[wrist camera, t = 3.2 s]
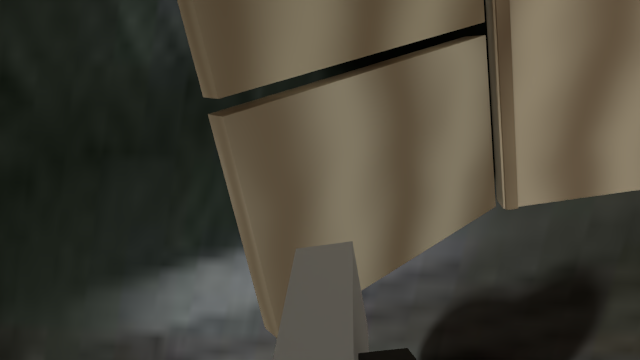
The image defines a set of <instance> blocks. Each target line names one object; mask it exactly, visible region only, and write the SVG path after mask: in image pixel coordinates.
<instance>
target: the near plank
mask: <svg viewBox="0 0 640 360" xmlns="http://www.w3.org/2000/svg"><path fill="white" fill-rule="evenodd" d="M177 1H178V5H179V8H180V12H181V16H182V20H183V23H184V27H185V31H186V35H187V38H188V42H189V46H190V50H191V53H192V57H193V61H194V64H195V68H196V72H197V76H198V79H199V83H200V87H201V91H202V94H203V97H207V98H216V99H219V98H223V97H226V96H230V95H233V94H237V93H240V92H243V91H247V90H250V89H254V88H257V87H261V86H264V85H268V84H271V83H275V82H278V81H282V80H285V79H289V78H292V77H296V76H299V75H303V74H306V73H309V72H313V71H316V70H320V69H323V68H327V67H330V66H334V65H337V64H341V63H344V62H348V61H351V60H355V59H358V58H362V57H365V56H368V55H372V54H375V53H379V52H382V51H386V50H389V49H393V48H396V47H400V46H403V45H407V44H410V43H414V42H417V41H421V40H424V39H428V38H431V37H434V36H438V35H441V34H445V33H448V32H452V31H455V30H459V29H462V28H466V27H469V26H473V25H476V24H480V23H483V22H485V16H484V0H177Z"/></svg>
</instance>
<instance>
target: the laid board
mask: <svg viewBox="0 0 640 360" xmlns="http://www.w3.org/2000/svg"><path fill="white" fill-rule="evenodd" d="M485 1H486V19H487V36H488V53H489V71H490V88H491V105H492V123H493V140H494V158H495V175H496V192H497V201H498V202H499V203H500V205H501V206H502V207H503V209H506V210H510V209H518V207H520V206H527V205H534V204H541V203H548V202H555V201H563V200H570V199H577V198H584V197H591V196H598V195H605V194H613V193H620V192H627V191H634V190H640V0H485Z"/></svg>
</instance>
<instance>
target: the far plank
mask: <svg viewBox="0 0 640 360" xmlns="http://www.w3.org/2000/svg"><path fill="white" fill-rule="evenodd" d="M208 117H209V120H210V124H211V128H212V132H213V135H214V139H215V143H216V147H217V150H218V154H219V158H220V161H221V165H222V169H223V173H224V176H225V180H226V184H227V188H228V191H229V195H230V199H231V202H232V206H233V210H234V214H235V217H236V221H237V225H238V229H239V232H240V236H241V240H242V243H243V247H244V251H245V255H246V258H247V262H248V266H249V270H250V273H251V277H252V281H253V285H254V288H255V292H256V296H257V299H258V303H259V307H260V311H261V314H262V318H263V322H264V326H265V328H266V329H267V330H268V331H269V332H270V333H272V334H273V335H274V336H275V337H276V338H277V337H278V332H279V327H280V322H281V318H282V313H283V308H284V303H285V298H286V294H287V289H288V284H289V279H290V275H291V270H292V265H293V260H294V255H295V251H296V249H297V248H305V247H312V246H320V245H327V244H335V243H342V242H350V241H352V242H353V247H354V253H355V259H356V264H357V270H358V275H359V281H360V287H361V290H363V289H365V288H366V287H368V286H369V285H371V284H373V283H374V282H376V281H377V280H379V279H381V278H382V277H384V276H385V275H387V274H389V273H390V272H392V271H393V270H395V269H397V268H398V267H400V266H401V265H403V264H405V263H406V262H408V261H409V260H411V259H413V258H414V257H416V256H417V255H419V254H421V253H422V252H424V251H425V250H427V249H429V248H430V247H432V246H433V245H435V244H437V243H438V242H440V241H441V240H443V239H445V238H446V237H448V236H449V235H451V234H453V233H454V232H456V231H457V230H459V229H461V228H462V227H464V226H465V225H467V224H469V223H470V222H472V221H473V220H475V219H476V218H478V217H480V216H481V215H483V214H484V213H486V212H488V211H489V210H491V209H492V208H494V207H496V203H495V186H494V169H493V152H492V135H491V118H490V101H489V84H488V67H487V50H486V35H480V36H465V37H461V38H458V39H455V40H452V41H448V42H445V43H442V44H438V45H435V46H432V47H428V48H425V49H422V50H419V51H415V52H412V53H409V54H405V55H402V56H399V57H395V58H392V59H389V60H386V61H382V62H379V63H376V64H372V65H369V66H366V67H362V68H359V69H356V70H352V71H349V72H346V73H343V74H339V75H336V76H333V77H329V78H326V79H323V80H319V81H316V82H313V83H310V84H306V85H303V86H300V87H296V88H293V89H290V90H286V91H283V92H280V93H277V94H273V95H270V96H267V97H263V98H260V99H257V100H253V101H250V102H247V103H244V104H240V105H237V106H234V107H230V108H227V109H224V110H220V111H217V112H214V113H211V114H208Z"/></svg>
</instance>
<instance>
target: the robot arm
mask: <svg viewBox="0 0 640 360" xmlns="http://www.w3.org/2000/svg"><path fill="white" fill-rule="evenodd" d="M273 360H416V358H415V357H414V356H413V355H412V353H411V352H410V351H409V350H408V348H404V349H394V350H384V351H375V352H369V343H368V326H367V320H366V315H365V309H364V303H363V298H362V292H361V287H360V281H359V275H358V270H357V264H356V259H355V253H354V247H353V242H352V241H350V242H342V243H335V244H327V245H320V246H312V247H305V248H297V249H296V251H295V255H294V260H293V265H292V270H291V275H290V279H289V284H288V289H287V294H286V298H285V303H284V308H283V313H282V318H281V322H280V327H279V332H278V337H277V341H276V346H275V351H274V356H273Z"/></svg>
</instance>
